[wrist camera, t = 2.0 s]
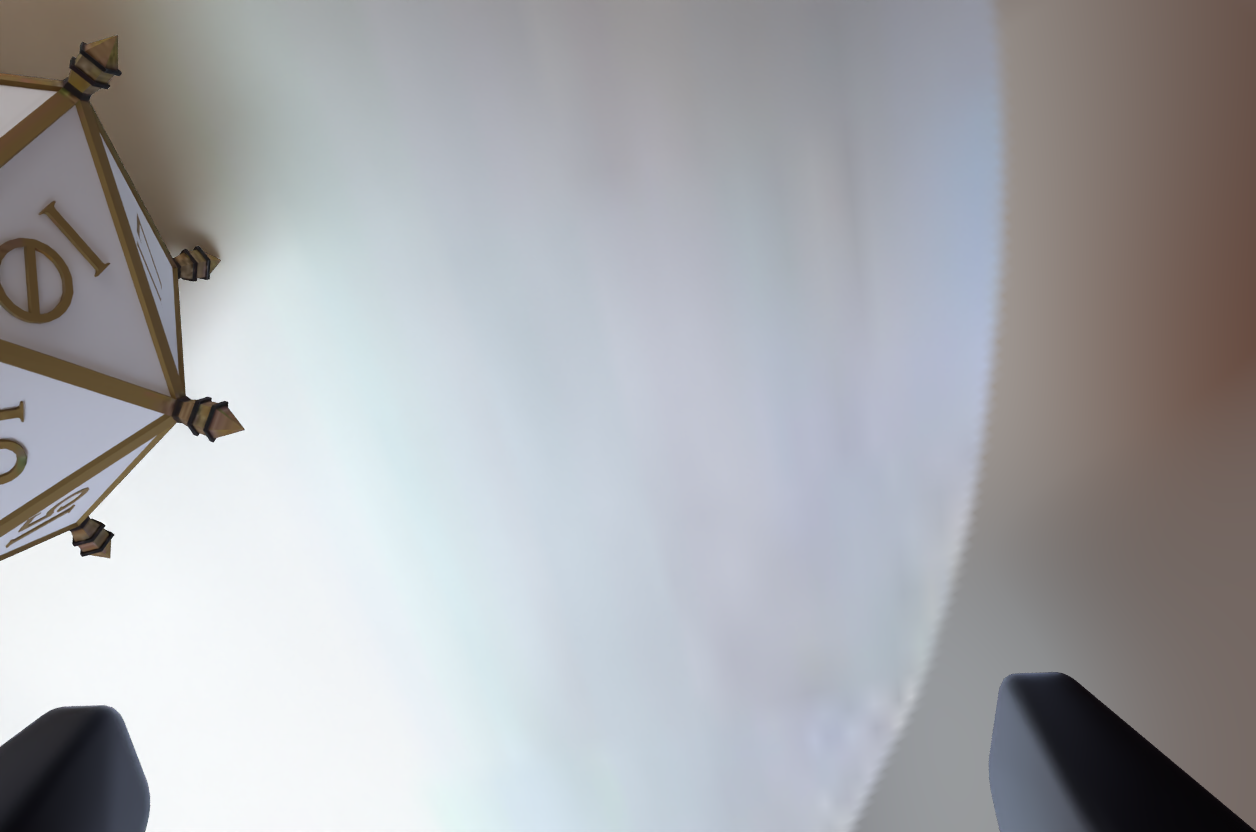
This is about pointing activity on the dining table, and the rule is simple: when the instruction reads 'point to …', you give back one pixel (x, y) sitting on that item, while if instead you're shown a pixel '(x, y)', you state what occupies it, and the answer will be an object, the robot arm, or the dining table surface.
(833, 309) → the dining table surface
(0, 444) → the game die
